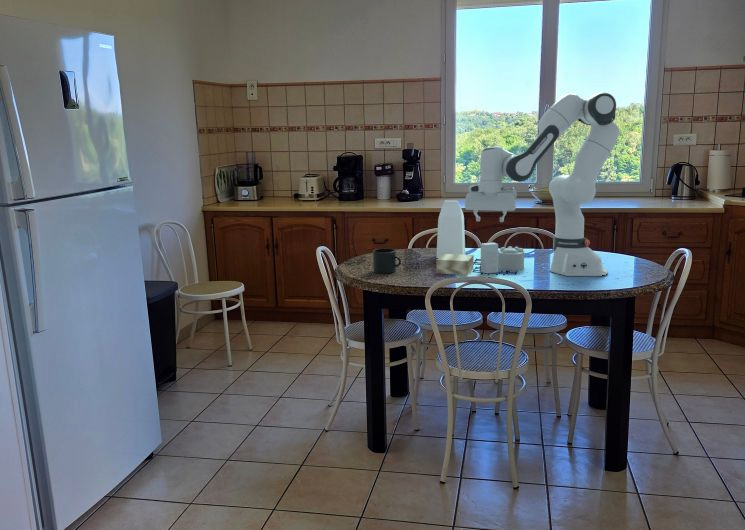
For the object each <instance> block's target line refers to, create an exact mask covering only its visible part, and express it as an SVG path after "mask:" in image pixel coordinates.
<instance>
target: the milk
mask: <svg viewBox="0 0 745 530" xmlns="http://www.w3.org/2000/svg"><path fill="white" fill-rule="evenodd" d="M437 220H438V221H437V238H436V239H437V240H436V241H437V242H436V257H435V258H439V257H440V256H441V255H443V254H459V255H466V239H465V238H466V237H465V234H466V233H465V217H464V212H463V210H462V207H461V205H460V202H459V201H458V200H444V202H443V204H442V206H441V210H440V212H439V216H438V219H437Z"/></svg>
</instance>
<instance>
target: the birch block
mask: <svg viewBox="0 0 745 530" xmlns="http://www.w3.org/2000/svg"><path fill="white" fill-rule="evenodd" d="M474 258H475V256H474V254H465V255H459V254H443V255H441V256H440V257H439V258H438V259H436V274H443V275H444V274H447V275H464V276H469V274H470V273H472V271H473V269H474Z"/></svg>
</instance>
